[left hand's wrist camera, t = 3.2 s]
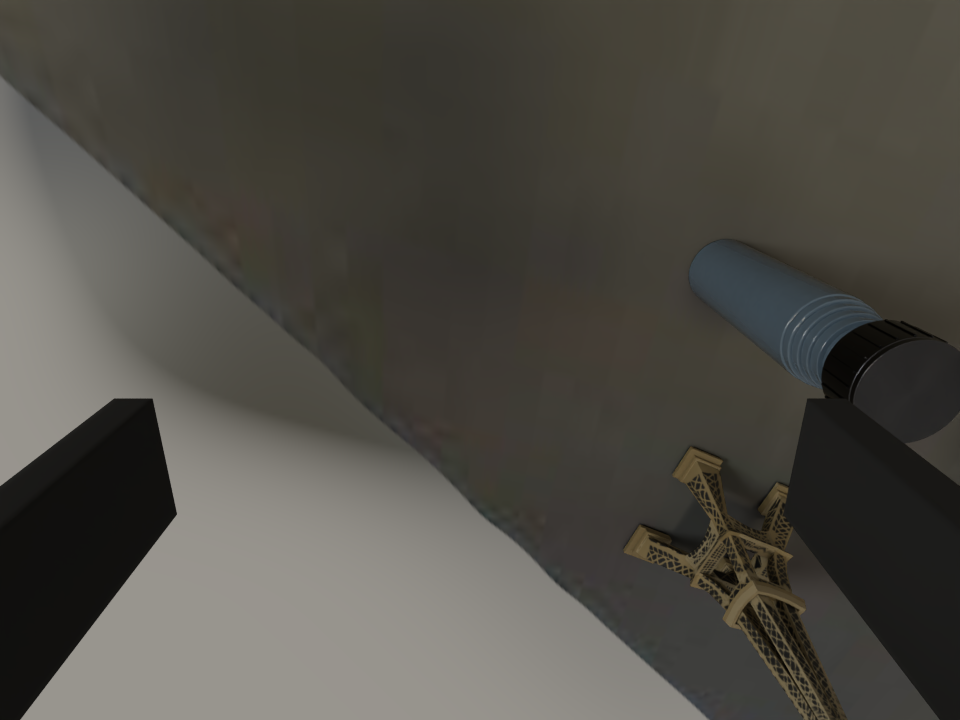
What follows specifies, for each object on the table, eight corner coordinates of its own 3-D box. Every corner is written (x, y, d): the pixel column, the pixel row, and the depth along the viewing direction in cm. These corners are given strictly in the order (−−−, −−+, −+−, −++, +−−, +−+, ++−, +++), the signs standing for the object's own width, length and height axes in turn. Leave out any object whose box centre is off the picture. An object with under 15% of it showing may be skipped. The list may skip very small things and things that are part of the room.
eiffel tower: (806, 494, 49) (1103, 838, 26) (733, 591, 52) (936, 972, 29) (690, 446, 47) (895, 765, 24) (623, 549, 51) (744, 916, 27)
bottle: (684, 303, 43) (833, 440, 25) (693, 238, 42) (861, 332, 23) (749, 304, 43) (945, 442, 25) (761, 239, 42) (981, 335, 23)
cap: (809, 416, 27) (839, 444, 25) (832, 316, 25) (867, 337, 23) (911, 418, 27) (952, 446, 25) (941, 319, 25) (988, 339, 23)
